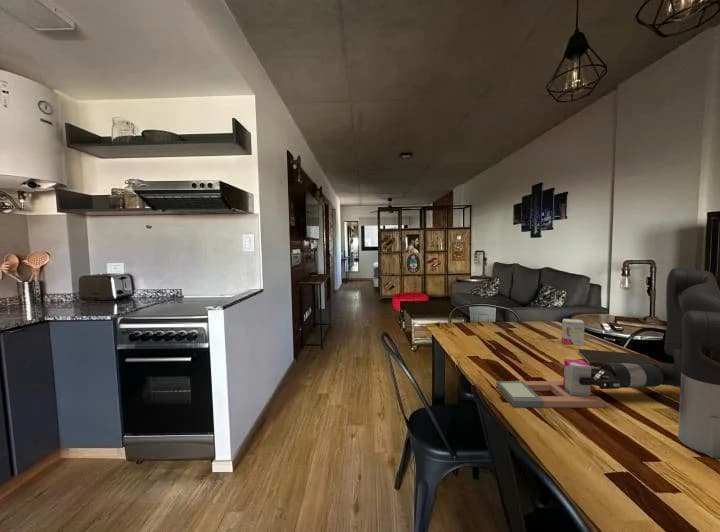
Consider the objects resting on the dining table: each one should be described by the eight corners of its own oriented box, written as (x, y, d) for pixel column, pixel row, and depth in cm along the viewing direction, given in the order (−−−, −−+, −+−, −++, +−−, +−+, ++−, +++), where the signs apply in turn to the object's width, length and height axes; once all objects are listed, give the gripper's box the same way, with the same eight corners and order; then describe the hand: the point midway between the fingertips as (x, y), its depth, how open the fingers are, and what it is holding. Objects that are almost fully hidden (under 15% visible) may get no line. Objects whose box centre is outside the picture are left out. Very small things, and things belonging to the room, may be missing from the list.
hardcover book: (578, 353, 142) (578, 348, 142) (641, 359, 134) (641, 354, 134) (589, 366, 127) (589, 361, 127) (661, 374, 119) (661, 368, 119)
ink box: (563, 344, 154) (564, 320, 153) (561, 341, 158) (561, 318, 158) (584, 346, 151) (584, 322, 150) (581, 343, 155) (582, 319, 154)
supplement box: (590, 401, 99) (592, 366, 98) (570, 400, 100) (571, 365, 99) (581, 393, 104) (582, 359, 104) (562, 391, 106) (563, 358, 105)
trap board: (604, 407, 95) (604, 400, 95) (514, 407, 96) (514, 400, 96) (575, 386, 109) (575, 380, 109) (496, 386, 110) (496, 380, 110)
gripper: (606, 356, 108) (558, 356, 109) (642, 373, 94) (586, 373, 94) (606, 377, 108) (558, 377, 109) (641, 397, 94) (585, 397, 95)
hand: (571, 375), depth 102 cm, fingers open, 8 cm apart
